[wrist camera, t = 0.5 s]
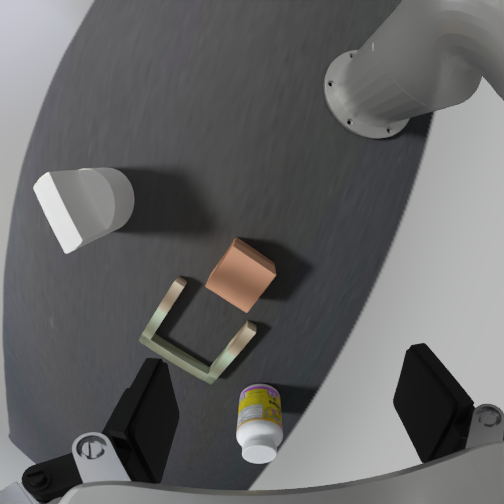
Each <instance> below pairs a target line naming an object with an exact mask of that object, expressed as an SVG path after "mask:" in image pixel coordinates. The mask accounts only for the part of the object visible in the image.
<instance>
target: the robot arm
mask: <svg viewBox="0 0 504 504" xmlns="http://www.w3.org/2000/svg"><path fill="white" fill-rule="evenodd" d="M351 57H352V58H351ZM482 76H483V77H484V78H485V79H486V80H487V81H488V83H489V84H490V85H491V86H492V87H493V89H494V90H495V91H496V93H497V94H498V95H499V96H500V97H501V98H502V99H503V100H504V0H402V2H401V3H400V4H399V5H398V6H397V8H396V9H395V10H394V11H393V13H392V14H391V15H390V16H389V17H388V18H387V19H386V20H385V21H384V22H383V24H382V25H381V26H380V27H379V28H378V29H377V30H376V31H375V32H374V34H373V35H372V36H371V37H370V38H369V39H368V40H367V41H366V43H365V44H364V45H363V46H362V47H361V48H360V49H359V50H352V51H349V52H346V53H343V54H342V55H340V56H338V57H337V58H336V59H335V60H334V61H333V62H332V63H331V65H330V66H329V68H328V70H327V72H326V74H325V78H324V95H325V100H326V102H327V105H328V107H329V109H330V111H331V112H332V114H333V116H334V117H335V118H336V119H337V120H338V121H339V123H340V124H342V125H343V126H344V127H345V128H346V129H348V130H349V131H351V132H353V133H354V134H357V135H359V136H362V137H365V138H370V139H381V138H387V137H390V136H393V135H395V134H396V133H398V132H400V131H401V130H402V129H403V128H404V127H405V126H406V124H407V123H408V121H409V120H410V118H411V117H415V116H418V115H422V114H425V113H429V112H433V111H436V110H440V109H444V108H447V107H450V106H454V105H457V104H460V103H462V102H464V101H466V100H467V99H469V98H470V97H471V96H472V95H473V94H474V93H475V91H476V90H477V88H478V86H479V84H480V81H481V78H482ZM328 84H331V86H329V85H328ZM347 121H349V122H350V125H349V124H348V123H347ZM387 130H388V132H387ZM393 404H394V407H395V409H396V411H397V413H398V415H399V417H400V419H401V421H402V423H403V425H404V427H405V429H406V431H407V433H408V435H409V437H410V439H411V441H412V443H413V445H414V447H415V449H416V451H417V453H418V456H419V458H420V460H421V461H422V463H423V464H420V465H417V466H413V467H410V468H407V469H403V470H400V471H396V472H392V473H388V474H384V475H380V476H375V477H371V478H366V479H361V480H356V481H350V482H345V483H338V484H332V485H325V486H317V487H308V488H297V489H285V490H284V489H283V490H257V491H237V490H212V489H197V488H186V487H176V486H168V485H160V484H156V483H160V482H161V480H162V476H163V473H164V469H165V466H166V462H167V459H168V455H169V452H170V448H171V445H172V441H173V438H174V435H175V431H176V428H177V424H178V421H179V410H178V406H177V402H176V398H175V394H174V390H173V386H172V382H171V378H170V374H169V369H168V365H167V363H163V361H162V359H157V358H147V359H146V360H145V362H144V363H143V365H142V367H141V369H140V371H139V372H138V374H137V376H136V378H135V380H134V381H133V383H132V385H131V387H130V388H127V389H126V390H125V391H124V393H123V395H122V397H121V398H120V400H119V402H118V404H117V406H116V407H115V409H114V411H113V413H112V415H111V417H110V419H109V420H108V422H107V424H106V426H105V428H104V430H103V432H102V434H101V433H98V432H90V433H85V434H83V435H81V436H79V437H78V438H77V439H76V440H75V441H74V443H73V446H72V453H70V454H67V455H64V456H61V457H58V458H55V459H52V460H49V461H46V462H42V463H39V464H36V465H33V466H31V467H29V468H28V469H27V470H25V472H24V473H23V476H22V482H21V483H20V484H18V483H17V482H15V483H13V484H11V485H10V486H8V487H6V488H5V489H3V490H1V491H0V504H504V413H503V411H501V409H500V408H498V407H497V406H495V405H492V404H482V405H480V406H478V407H477V408H475V407H474V406H473V404H474V402H473V400H471V398H470V397H469V395H468V394H467V393H466V392H465V390H464V389H463V388H462V387H461V386H460V384H459V383H458V382H457V380H456V379H455V378H454V377H453V376H452V374H451V373H450V372H449V371H448V370H447V368H446V367H445V366H444V365H443V364H442V362H441V361H440V360H439V359H438V358H437V356H436V355H435V354H434V353H433V352H432V351H431V350H430V348H429V347H428V346H427V345H426V344H425V343H421V344H415V345H411V347H410V348H409V349H408V350H407V351H406V354H405V358H404V362H403V367H402V370H401V374H400V378H399V382H398V385H397V388H396V392H395V395H394V399H393Z"/></svg>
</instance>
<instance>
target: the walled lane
mask: <svg viewBox="0 0 504 504" xmlns="http://www.w3.org/2000/svg"><path fill="white" fill-rule="evenodd" d="M186 284H187V281H186V280H184V279H183V278H181V277H180V276H178V277H177V278H176V280H175V281H174V283H173V284H172V286H171V288H170V289H169V291H168V292H167V294H166V296H165V297H164V299H163V300H162V302H161V304H160V305H159V307H158V309H157V310H156V312H155V313H154V315H153V317H152V318H151V320H150V322H149V323H148V325H147V327H146V328H145V330H144V332H143V333H142V335H141V337H140V339H139V340H138V341H139V342H141V343H142V344H144V345H145V346H147V347H149V348H150V349H152V350H153V351H155V352H156V353H158V354H159V355H161V356H163V357H164V358H166V359H167V360H169V361H171V362H172V363H174V364H176V365H177V366H179V367H181V368H182V369H184V370H186V371H188V372H189V373H191V374H193V375H194V376H196V377H198V378H200V379H202V380H203V381H205V382H207V383H209V384H211V385H212V383H213V382H214V381H215V380H216V379H217V378H218V377H219V376H220V374H221V373H222V372H223V371H224V370H225V369H226V368H227V366H228V365H229V364H230V363H231V362H232V361H233V360H234V358H235V357H236V356H237V355H238V354H239V353H240V351H241V350H242V349H243V348H244V347H245V346H246V344H247V343H248V342H249V341H250V340H251V339H252V337H253V336H254V335H255V334H256V325H255V324H253V323H251V322H250V321H247V322H246V323H245V324H244V326H243V327H242V328H241V329H240V331H239V332H238V333H237V334H236V336H235V337H234V338H233V339H232V340H231V342H230V343H229V344H228V345H227V347H226V348H225V349H224V350H223V351H222V353H221V354H220V355H219V356H218V358H217V359H216V360H215V361H214V362H213V364H212V365H211V366H210V367H209V366H207V365H205V364H204V363H202V362H200V361H199V360H197V359H195V358H194V357H192V356H190V355H189V354H187V353H185V352H184V351H182V350H180V349H179V348H177V347H175V346H174V345H172V344H171V343H169V342H167V341H166V340H164V339H163V338H161V337H160V336H158V335H157V334H155V332H156V330H157V329H158V327H159V326H160V324H161V322H162V321H163V319H164V318H165V316H166V315H167V313H168V311H169V310H170V308H171V307H172V305H173V304H174V302H175V301H176V299H177V298H178V296H179V294H180V293H181V291H182V290H183V288H184V287H185V285H186Z"/></svg>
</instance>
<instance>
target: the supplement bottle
mask: <svg viewBox="0 0 504 504" xmlns="http://www.w3.org/2000/svg"><path fill="white" fill-rule="evenodd" d="M236 436H237V441H238V443H239V444H240V445H241V446H242V456H243V458H244V459H245V460H247V461H249V462H251V463H257V464H261V463H267V462H270V461H272V460H274V459H275V458H276V456H277V446H278V445H279V444H280V443H281V441H282V438H283V432H282V416H281V402H280V395H279V393H278V391H277V390H276V389H275V388H273V387H272V386H269V385H266V384H254V385H251V386H249V387H247V388H245V389H244V390H243V391H242V393H241V395H240V401H239V412H238V424H237V434H236Z"/></svg>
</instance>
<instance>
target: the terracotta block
mask: <svg viewBox="0 0 504 504" xmlns="http://www.w3.org/2000/svg"><path fill="white" fill-rule="evenodd" d="M275 276H276V270H275V264H274V262H273V261H271V260H270V259H268V258H267V257H265V256H264V255H262V254H261V253H259V252H258V251H256V250H255V249H253V248H252V247H250V246H249V245H248V244H246V243H245V242H243V241H242V240H240V239H239V238H237V237H236V238H235V240H234V241H233V242H232V244H231V245H230V247H229V248H228V250H227V251H226V252H225V254H224V255H223V257H222V258H221V260H220V261H219V263H218V264H217V265H216V267H215V268H214V270H213V271H212V273H211V275H210V277H209V279H208V281H207V284H206V286H205V287H207V288H208V289H210V290H212V291H213V292H215V293H216V294H218V295H219V296H221V297H222V298H224V299H225V300H227V301H229V302H230V303H232V304H233V305H235V306H236V307H238V308H240V309H241V310H243V311H244V312H246V313H247V312H248V311H249V310H250V308H251V307H252V306H253V305H254V303H255V302H256V301H257V299H258V298H259V297H260V296H261V294H262V293H263V292H264V290H265V289H266V288H267V287H268V285H269V284H270V283H271V281H272V280H273V279H274V277H275Z"/></svg>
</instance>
